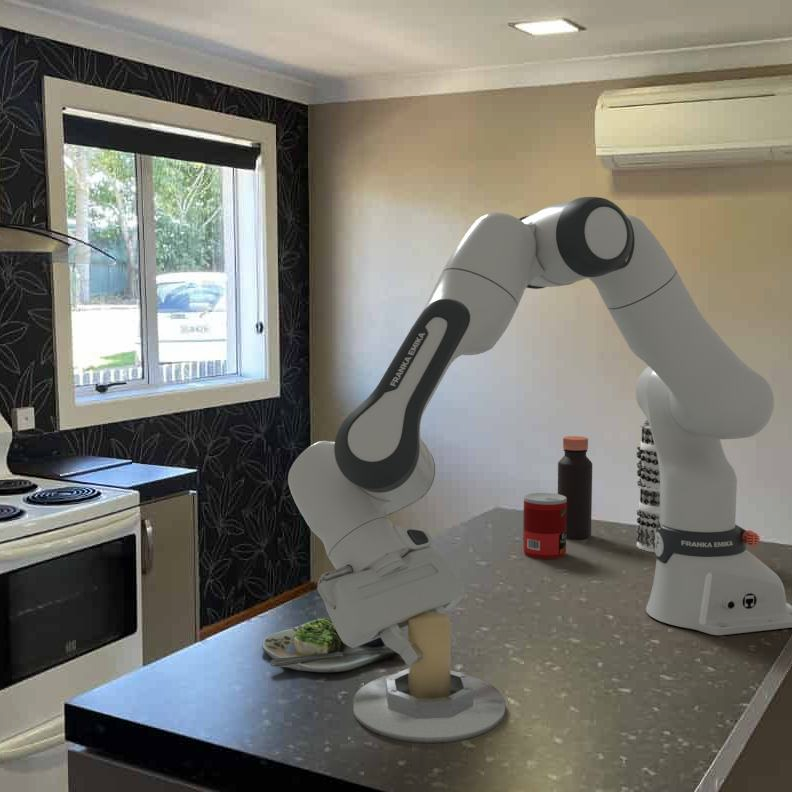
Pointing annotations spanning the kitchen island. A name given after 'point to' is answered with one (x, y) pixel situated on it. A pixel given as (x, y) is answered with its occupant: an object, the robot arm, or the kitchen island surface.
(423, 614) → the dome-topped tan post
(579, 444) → the bottle
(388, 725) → the collar
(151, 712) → the kitchen island surface
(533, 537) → the canned food
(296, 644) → the salad plate
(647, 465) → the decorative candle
